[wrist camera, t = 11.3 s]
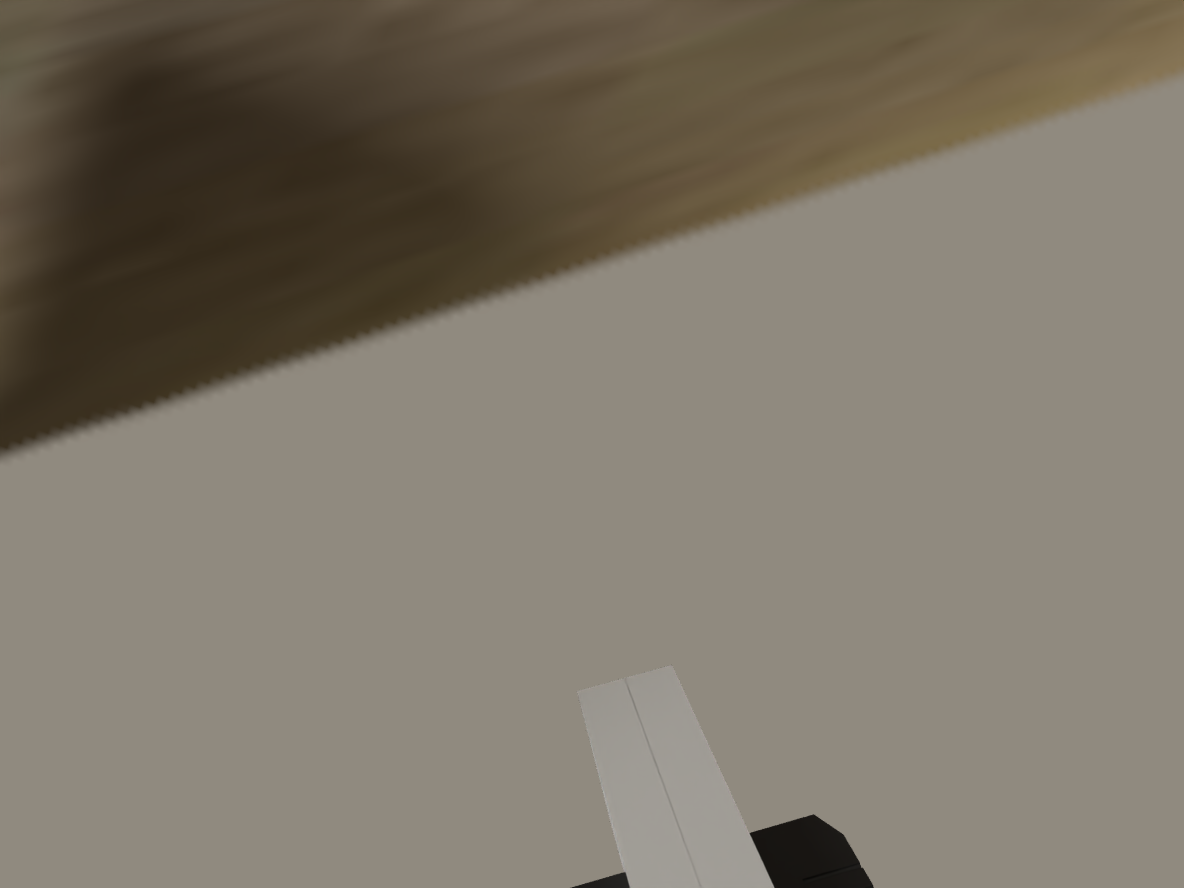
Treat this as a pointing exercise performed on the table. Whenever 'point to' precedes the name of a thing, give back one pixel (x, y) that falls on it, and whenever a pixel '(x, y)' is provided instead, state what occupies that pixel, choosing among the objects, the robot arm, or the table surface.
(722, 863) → the robot arm
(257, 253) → the table surface
